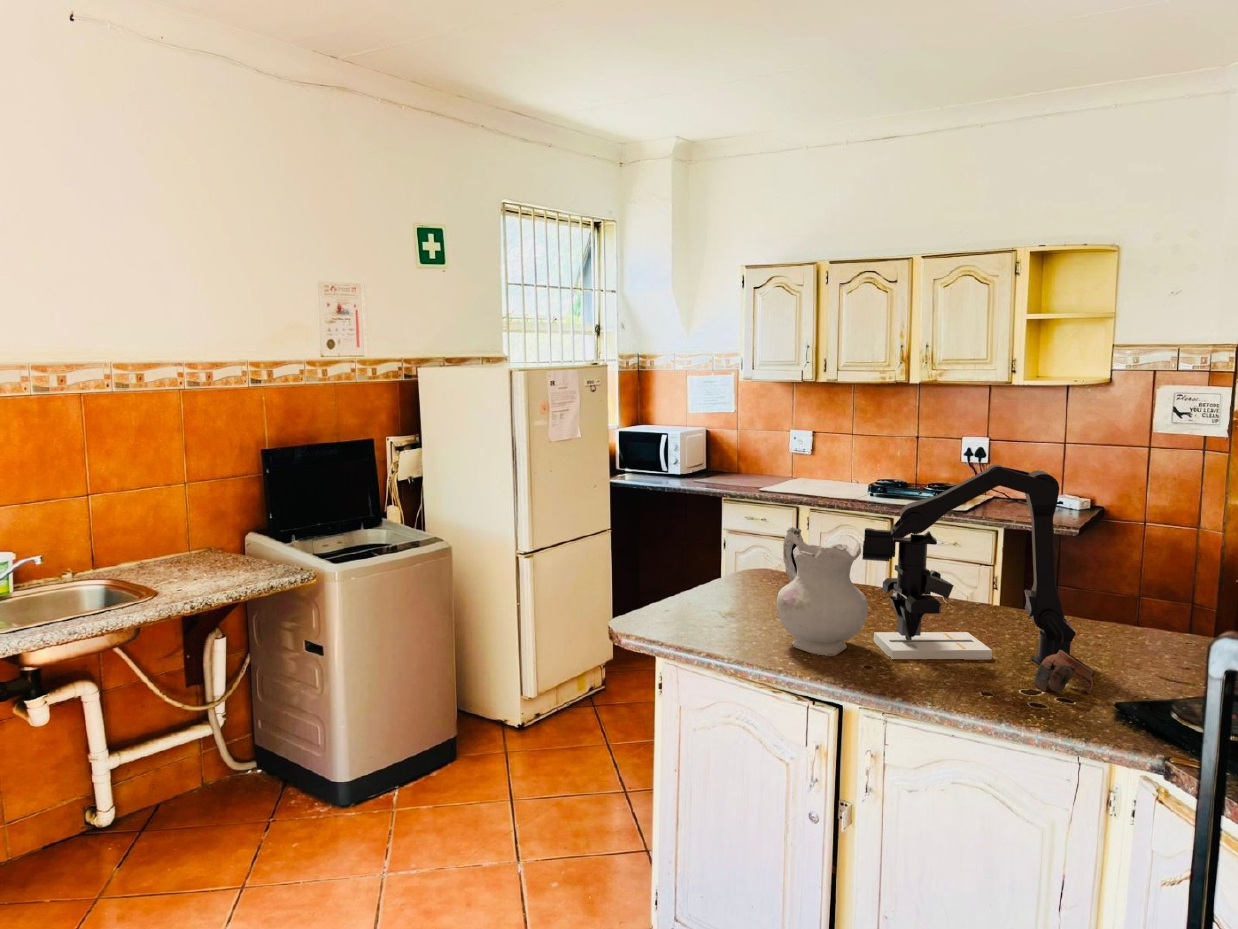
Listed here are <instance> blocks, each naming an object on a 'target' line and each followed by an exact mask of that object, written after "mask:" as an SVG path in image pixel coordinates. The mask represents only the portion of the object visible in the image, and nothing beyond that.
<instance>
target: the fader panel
mask: <svg viewBox="0 0 1238 929" xmlns="http://www.w3.org/2000/svg"><path fill="white" fill-rule="evenodd" d="M873 642H874V643H875V644H876V645H877V646H878V647H879V649H880V650H882V652H884V653H885V655H886V656H888V657H889V656H890V657H891V658H890V657H889V658H890V660H892V659H964V660H992V659H993V658H992V657H993V656H992V655H993V649H991V648H990V647H988V646H987V645H986V644H984V643H983V642H982V641H980V640H979V639H977V637H975V636H973V635H972V634H970V632H968V631H967V632H966V631H959V632H958V631H954V632H953V631H951V632H949V631H943V632H942V631H931V632H930V631H929V632H928V631H926V632H925V631H922V632H921V635H920V636H914V637H912V640H906V639H905V636H902V635H901V634H899V633H898V632H897V631H895V632H894V631H893V632H886V631H885V632H881V631H880V632H877V631H876V632H873Z"/></svg>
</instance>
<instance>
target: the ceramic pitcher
mask: <svg viewBox="0 0 1238 929" xmlns="http://www.w3.org/2000/svg"><path fill="white" fill-rule="evenodd" d="M802 531H803V530H802V529H800V528H795V527H788V529H787V530H786V534H785V535H784V540H783V544H782V545H783V547H782V549H783V550H782V552H783V553H782V555H783V563H784V567H785V573H786V575H787V577H788V578H789V581H790V582H789V583H787V584H786V585H785V586H783V587H782V588H781V589H780V590H779V591H778V594H777V598H776V609H777V615H778V618H779V621H780V624H781V625H782V626H783V628H784V629H785V630H786V631H787V632H788V633H789V634H790V635H791V636H793V637H795V639H794V640H795V641H794V640H793V641H792V644H793V646H792V645H791V646H792V648H796V649H798V650H801V651H803V652H807V653H810V654H813V655H816V654H817V655H816V656H819V655H825V656H824V657H835V656H837V655H839V653H842V652H843V651H844V650H846V649H847V648H848V647H847V644H846V641H848V640H850V639H852V638H854V637H855V636H856V635H857V634H858V633H860V631H861V630H862V629H863V627H864V625H865V624H866V620H867V616H868V614H869V603H868V599H867V596H866V595H865V594H864V593H863V592H862V591H861V590H860V589H859V588H858V587H857V586H856V585H855V584H853V582H852V580H851V575H850V574H851V568H852V565H853V563H854V561H857V559H858V557H860V555H861V554H862V549H861V548H862V547H861V543H859V542H856V544H855V545H854V547H853V548H850V547H849V546H848V544H843V543H842V544H840V543H839V544H833V545H829V546H821V545H817V544H816V545H815V544H808V543H806V542H805V541H804V538H803V536H802V534H801V533H802ZM794 545H796V546H795V548H793V546H794ZM792 548H793V550H792ZM792 554H793V558H794V561H795V564H796V567H795V566H794V563H793V562H794V561H793V559H792Z"/></svg>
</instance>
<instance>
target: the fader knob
mask: <svg viewBox="0 0 1238 929" xmlns="http://www.w3.org/2000/svg"><path fill="white" fill-rule="evenodd" d="M921 631H922V620H921V621H920V623H919V626H918V628H917V631H916V634H915V636H920V635H921ZM896 632H898V633H899V634H901V635H902V636H905V639H906V640H912V637H909V635H908V632H907V629H906V626H905V622H904V619H903V615H898V617H897V625H896Z"/></svg>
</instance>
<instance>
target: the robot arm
mask: <svg viewBox="0 0 1238 929" xmlns="http://www.w3.org/2000/svg"><path fill="white" fill-rule="evenodd" d="M997 487H1004V488H1007V489H1010V490H1012V491H1013V490H1014V491H1017V492H1020V493H1023V494H1024V496H1025V499H1026V504H1027V506H1028V509H1029V514H1030V516H1031V518H1030V519H1031V540H1032V541H1031V543H1032V566H1033V569H1032V570H1033V583H1032V584H1033V585H1032V586H1031V590H1030V589H1024V594H1025V600H1026V601H1025V606H1024V609H1025V611H1026V612H1027V614H1028V616H1029V617H1030V618H1031V619H1032V621H1033V622H1034V625H1035V626H1036V627H1038V629H1040V630H1039V637H1038V653H1037V655H1031V656H1030V659H1031V660H1032V661H1034V662H1035V663H1037V664H1038V665H1039V666H1040V664H1041V663H1042V662H1043V660H1044V659H1045V658H1046V657H1048V656H1050V655H1054V654H1057V653H1058V651H1059V650H1063V651H1065V652H1067V653H1068V654H1070V655H1071V645H1072V642H1073V640H1074V639H1075V636H1076V634H1077V633H1076V632H1075V630H1074V629H1073V627H1072V626H1071V624H1070V623H1069V621H1068V620H1067V619H1066V618H1065V614H1064V609H1063V606H1062V602H1061V598H1060V595H1059V592H1058V588H1057V580H1056V558H1055V557H1056V555H1055V534H1054V532H1055V530H1054V516H1055V513H1056V509H1057V505H1058V502H1059V501H1058V500H1059V495H1060V484H1059V482H1058V480H1057V479H1056V478H1055V477H1054V476H1052V475H1051V474H1050V473H1048V472H1047V471H1044V470H1039V469H1038V470H1033V471H1031V472H1029V471H1025V470H1021V469H1015V468H1011V467H1005V466H1002V465H1000V464H992V465H990V466H989V467H988V468H986V469H985V470H983V471H980V472H979V473H977V474H975V475H973V476H971V477H970V478H968V479H965V480H964V481H962V482H960V483H958V484H956V485H955V486H952V487H950V488H948V489H947V490H945V491H942V492H941V493H939V494H937V495H934V496H933V495H932V496H931V497H930V496H929V497H927V498H922V499H918V500H916V501H913V502H912V501H911V502H910V503H907V504H905V505H904V506H903V507H902V508H901V510H900V513H899V519H897V521H896V522H895V523H894V524H892V527H891V528H890V530H888V529H887V530H886V529H876V528H875V529H874V528H871V527H870V528H869V527H868V528H867V527H866V528H864V534H863V535H864V540H863V543H862V560H863V561H877V562H890V560H892V559H893V558H896V544H897V543H898V558H897V564H895V565H894V571H896V572H897V573H896V574H897V575H896V576H897V577H888V578H886V579H884V581H882V591H883V592H884V593H885V594H890V592H891V591H892V595H890V596H888V598H889V600H890V602H891V605H892V607H893V609H894V612H895V614H896V617H897V618H898V615H903V619H904V622H905V626H906V629H907V632H908V635H909V637H914V636H915V634H916V631H917V628H918V626H919V623H920V621H921V622H922V619H923V616H924V615H927V614H928V615H929V614H930V615H931V614H934V615H935V614H936V615H937V614H938V615H939V614H941V613H942V603H941V602H940V601H939V600H938V599H937V598H935V597H934V596H932V594H931V593H933V594H935V595H939V596H941V597H943V599H947V600H948V599H949V597H951V596H950V595H951V593H952V590H953V588H954V584H953V583H951V582H949V581H947V580H946V579H944V578H942V575H941V572H938V571H935V570H933V569H931V570H929V568H927V562H928V561H927V557H928V545H931V546H933V545H934V546H935V545H937V544H938V541H937V539H936V537H934V536H933V535H932V533H931V531H929V530H928V531H927V532H926V530H927V529H929V528H930V527H932V526H933V525H934V524H936V523H937V522H938V521H939V520H940V519H941V518H942V517H943V516H945V515H946V514H947V513H950V511H952V510H954V509H957V508H958V507H960V506H962V505H964V504H966V503H968V502H970V501H972V500H975V499H976V498H978V497H980V496H981V495H984V494H986V493H987V492H988V493H989V492H990V491H992V490H993V489H995V488H997ZM923 532H926V533H924V534H921V533H923ZM909 535H910V536H909ZM908 536H909V537H908ZM1054 668H1055V666H1053V667H1052V670H1054Z"/></svg>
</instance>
